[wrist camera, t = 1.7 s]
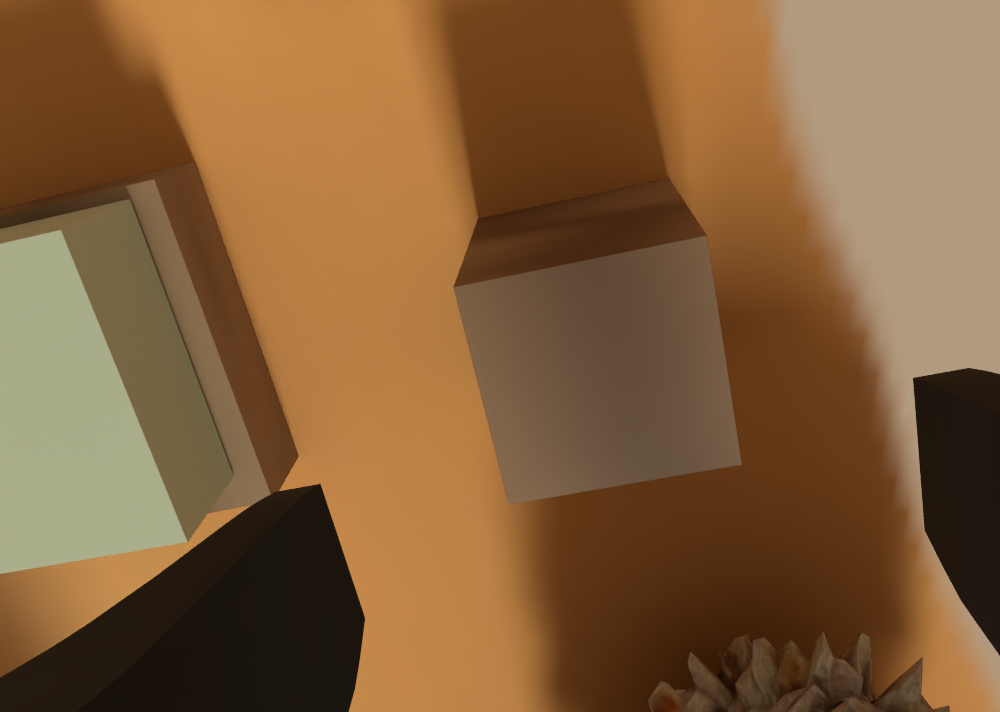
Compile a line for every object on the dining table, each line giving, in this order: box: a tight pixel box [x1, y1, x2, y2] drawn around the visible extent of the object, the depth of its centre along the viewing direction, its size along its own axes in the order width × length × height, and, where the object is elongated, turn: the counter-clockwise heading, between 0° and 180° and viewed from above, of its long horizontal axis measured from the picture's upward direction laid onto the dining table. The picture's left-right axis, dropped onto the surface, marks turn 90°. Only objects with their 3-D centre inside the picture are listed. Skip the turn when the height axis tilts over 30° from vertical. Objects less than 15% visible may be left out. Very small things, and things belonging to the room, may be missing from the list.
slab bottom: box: [0, 162, 298, 513], centre depth 20 cm, size 7×7×2 cm
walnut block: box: [454, 178, 742, 505], centre depth 17 cm, size 4×4×5 cm
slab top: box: [0, 199, 234, 574], centre depth 17 cm, size 6×6×2 cm
